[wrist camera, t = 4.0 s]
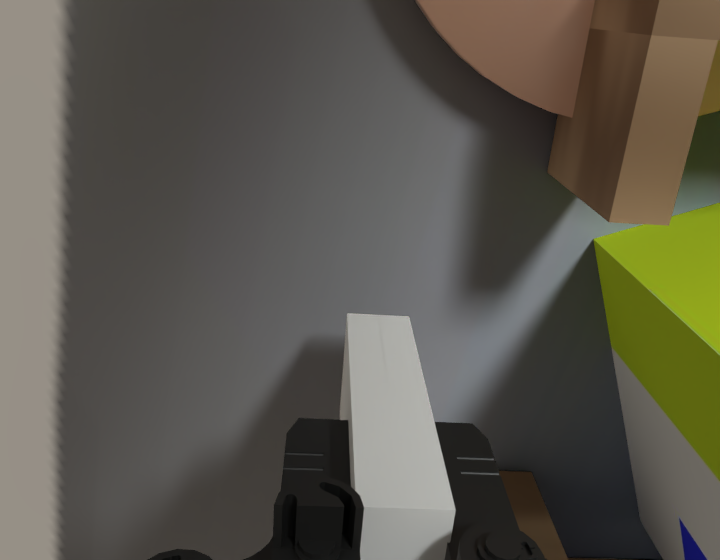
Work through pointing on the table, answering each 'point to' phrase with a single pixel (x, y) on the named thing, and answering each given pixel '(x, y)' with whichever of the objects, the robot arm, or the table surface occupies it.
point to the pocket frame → (627, 145)
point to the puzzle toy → (669, 373)
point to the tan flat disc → (531, 47)
